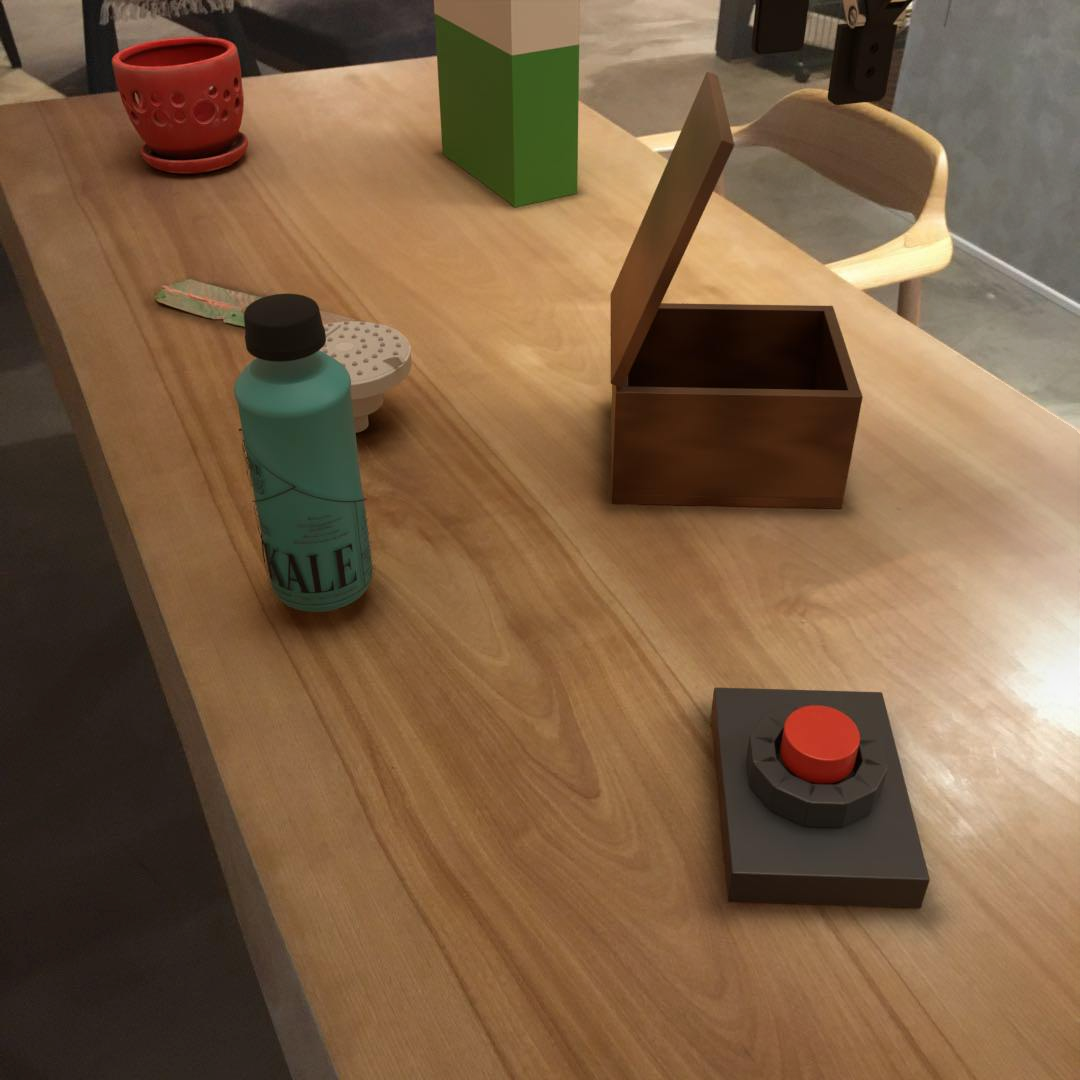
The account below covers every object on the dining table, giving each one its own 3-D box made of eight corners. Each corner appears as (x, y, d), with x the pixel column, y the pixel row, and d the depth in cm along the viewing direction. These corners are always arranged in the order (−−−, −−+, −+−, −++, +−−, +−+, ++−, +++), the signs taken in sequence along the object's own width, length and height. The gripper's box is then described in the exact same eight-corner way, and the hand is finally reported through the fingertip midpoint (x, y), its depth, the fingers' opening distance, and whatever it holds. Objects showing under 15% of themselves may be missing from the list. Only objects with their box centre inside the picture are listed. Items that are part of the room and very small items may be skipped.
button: (776, 728, 59) (780, 703, 58) (848, 730, 59) (853, 705, 58) (784, 783, 56) (788, 759, 55) (860, 786, 56) (866, 761, 55)
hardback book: (442, 153, 133) (429, -82, 119) (500, 142, 136) (494, -90, 121) (514, 207, 121) (509, -49, 106) (577, 193, 124) (580, -58, 109)
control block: (710, 715, 65) (716, 662, 62) (875, 720, 65) (888, 667, 62) (727, 901, 55) (735, 848, 53) (921, 908, 55) (938, 855, 53)
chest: (816, 410, 90) (833, 305, 84) (842, 508, 80) (863, 396, 74) (611, 406, 90) (615, 302, 85) (611, 503, 80) (615, 392, 75)
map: (181, 283, 109) (179, 274, 108) (365, 320, 101) (364, 310, 100) (144, 306, 105) (141, 296, 105) (331, 346, 97) (329, 336, 97)
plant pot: (270, 142, 137) (253, 33, 129) (230, 185, 127) (210, 69, 119) (163, 137, 138) (141, 30, 131) (115, 179, 128) (88, 65, 121)
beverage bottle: (342, 552, 76) (302, 265, 64) (399, 604, 72) (369, 308, 60) (252, 594, 73) (192, 301, 61) (307, 651, 69) (255, 348, 57)
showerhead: (361, 387, 79) (248, 350, 83) (372, 476, 83) (264, 437, 87) (442, 329, 85) (333, 298, 89) (447, 415, 90) (343, 381, 94)
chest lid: (718, 75, 75) (706, 70, 75) (735, 144, 65) (721, 139, 65) (620, 298, 85) (610, 294, 85) (621, 388, 75) (610, 384, 75)
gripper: (1038, -284, 51) (955, 116, 61) (847, -303, 64) (805, 30, 75) (883, -279, 49) (824, 131, 60) (719, -300, 62) (695, 40, 73)
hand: (814, 74), depth 67 cm, fingers open, 9 cm apart
